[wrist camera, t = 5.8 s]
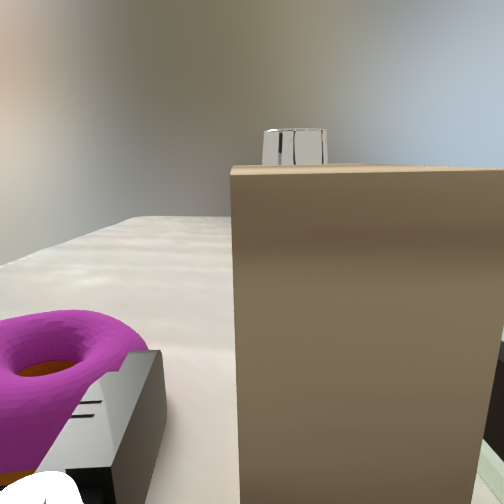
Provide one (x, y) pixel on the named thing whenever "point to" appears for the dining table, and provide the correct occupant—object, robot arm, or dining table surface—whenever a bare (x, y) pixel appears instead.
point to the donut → (51, 378)
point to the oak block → (365, 329)
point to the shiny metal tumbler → (295, 146)
